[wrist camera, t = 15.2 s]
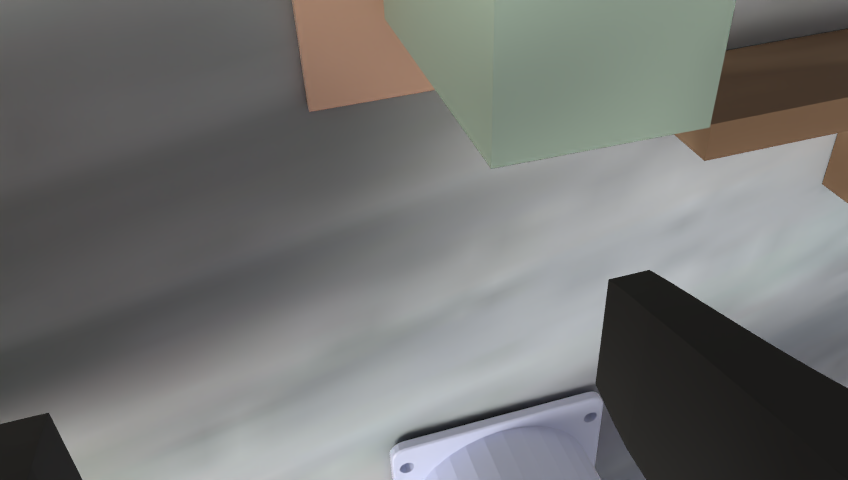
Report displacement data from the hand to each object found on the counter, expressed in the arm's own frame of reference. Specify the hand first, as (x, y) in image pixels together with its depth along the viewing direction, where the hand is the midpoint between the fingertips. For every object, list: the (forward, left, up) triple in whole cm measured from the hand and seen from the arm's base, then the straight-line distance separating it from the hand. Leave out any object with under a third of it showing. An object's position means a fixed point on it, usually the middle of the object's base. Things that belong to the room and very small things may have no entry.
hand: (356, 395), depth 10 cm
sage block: (+3, -5, -10) cm, 12 cm away
